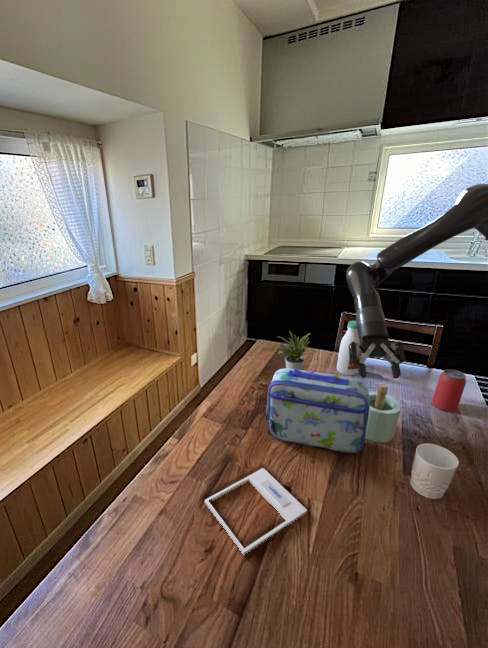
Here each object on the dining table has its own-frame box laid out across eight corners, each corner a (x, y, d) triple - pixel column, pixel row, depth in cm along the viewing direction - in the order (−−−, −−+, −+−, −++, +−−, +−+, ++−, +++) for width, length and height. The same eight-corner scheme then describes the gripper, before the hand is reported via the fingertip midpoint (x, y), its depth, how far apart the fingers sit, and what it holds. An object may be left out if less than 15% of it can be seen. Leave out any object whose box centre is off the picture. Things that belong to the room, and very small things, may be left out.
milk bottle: (338, 375, 127) (345, 326, 118) (335, 365, 133) (341, 318, 125) (360, 376, 125) (369, 327, 116) (356, 366, 132) (364, 319, 123)
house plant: (289, 359, 140) (292, 323, 133) (320, 371, 130) (325, 332, 123) (268, 371, 132) (270, 333, 125) (299, 385, 122) (302, 345, 115)
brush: (384, 427, 98) (394, 384, 92) (380, 435, 95) (390, 391, 89) (367, 421, 101) (376, 379, 95) (363, 429, 98) (372, 386, 92)
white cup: (402, 488, 80) (411, 456, 76) (412, 469, 85) (421, 438, 81) (442, 508, 75) (454, 475, 71) (450, 486, 80) (462, 454, 75)
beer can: (460, 414, 103) (471, 380, 98) (435, 410, 105) (445, 377, 100) (452, 401, 108) (463, 369, 103) (428, 398, 110) (438, 367, 106)
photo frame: (307, 509, 75) (243, 552, 67) (306, 513, 75) (243, 555, 68) (263, 467, 87) (204, 499, 79) (263, 470, 87) (204, 502, 79)
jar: (397, 428, 99) (404, 400, 95) (388, 447, 92) (396, 418, 88) (360, 415, 105) (366, 388, 101) (350, 432, 98) (355, 404, 94)
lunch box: (262, 439, 98) (264, 377, 89) (270, 417, 107) (273, 359, 98) (361, 464, 87) (375, 397, 79) (361, 437, 96) (373, 374, 87)
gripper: (350, 319, 97) (358, 374, 91) (402, 319, 95) (414, 374, 90) (342, 329, 104) (349, 380, 98) (390, 328, 102) (400, 381, 97)
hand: (380, 377), depth 94 cm, fingers open, 8 cm apart
